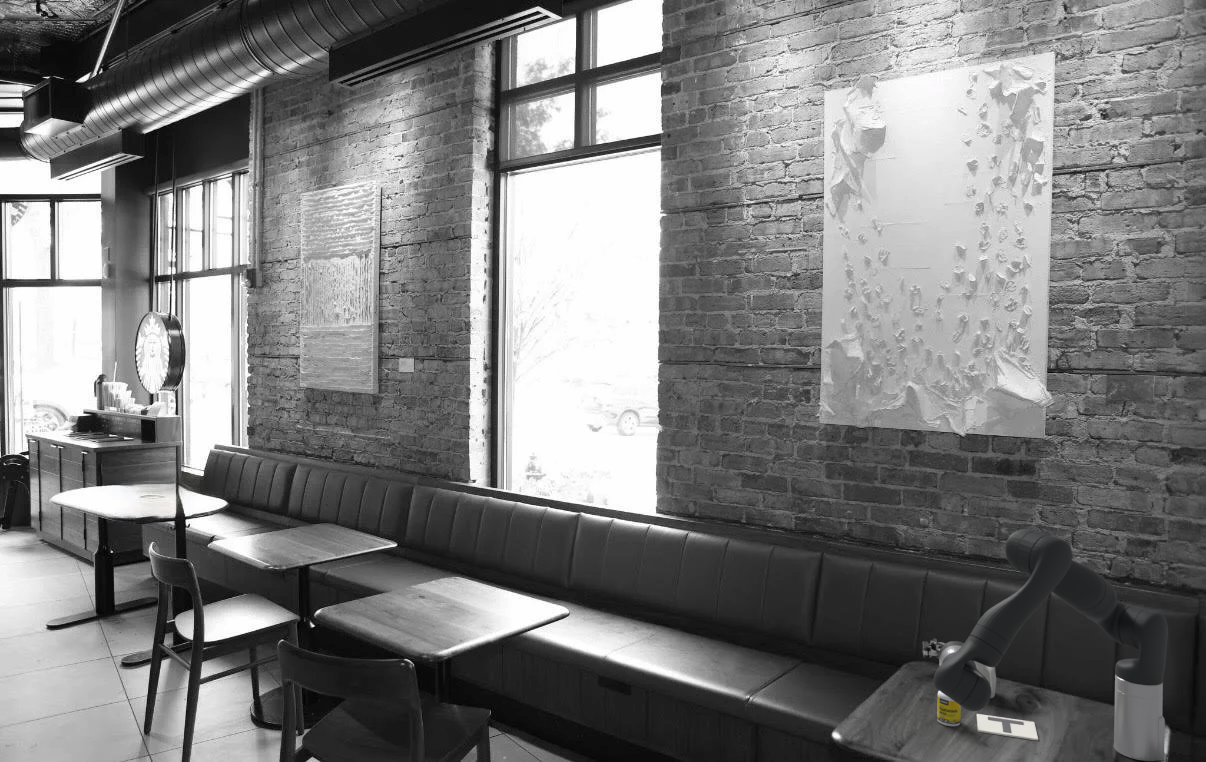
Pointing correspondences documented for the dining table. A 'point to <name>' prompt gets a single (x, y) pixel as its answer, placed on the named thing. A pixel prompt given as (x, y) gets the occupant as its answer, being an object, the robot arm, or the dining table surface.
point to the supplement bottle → (948, 711)
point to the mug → (988, 676)
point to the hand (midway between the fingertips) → (954, 644)
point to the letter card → (1006, 727)
